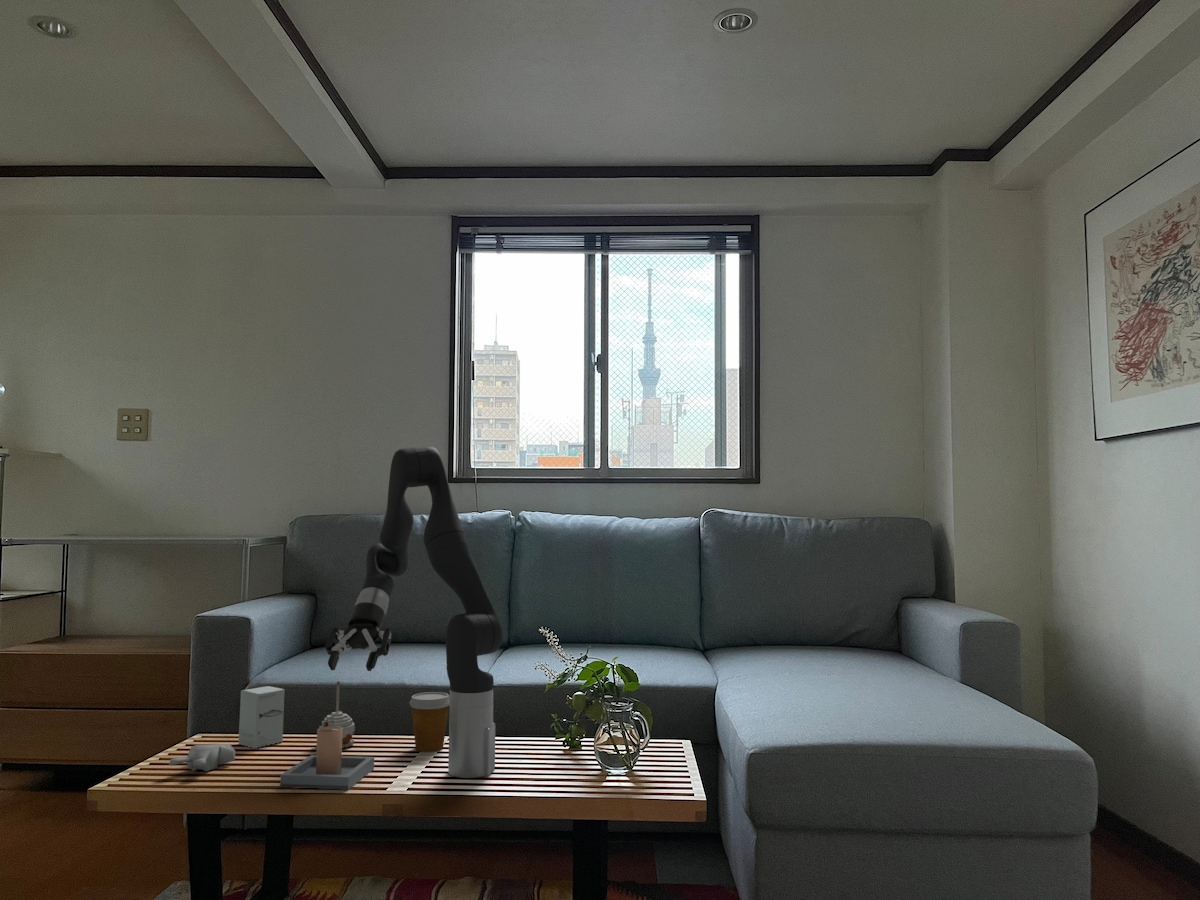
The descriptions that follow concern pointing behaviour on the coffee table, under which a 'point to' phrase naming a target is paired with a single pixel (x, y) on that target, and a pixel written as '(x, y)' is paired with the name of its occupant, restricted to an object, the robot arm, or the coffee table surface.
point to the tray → (307, 777)
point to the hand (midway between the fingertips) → (350, 668)
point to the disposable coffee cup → (429, 720)
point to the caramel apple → (341, 723)
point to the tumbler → (329, 750)
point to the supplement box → (261, 716)
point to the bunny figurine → (206, 756)
